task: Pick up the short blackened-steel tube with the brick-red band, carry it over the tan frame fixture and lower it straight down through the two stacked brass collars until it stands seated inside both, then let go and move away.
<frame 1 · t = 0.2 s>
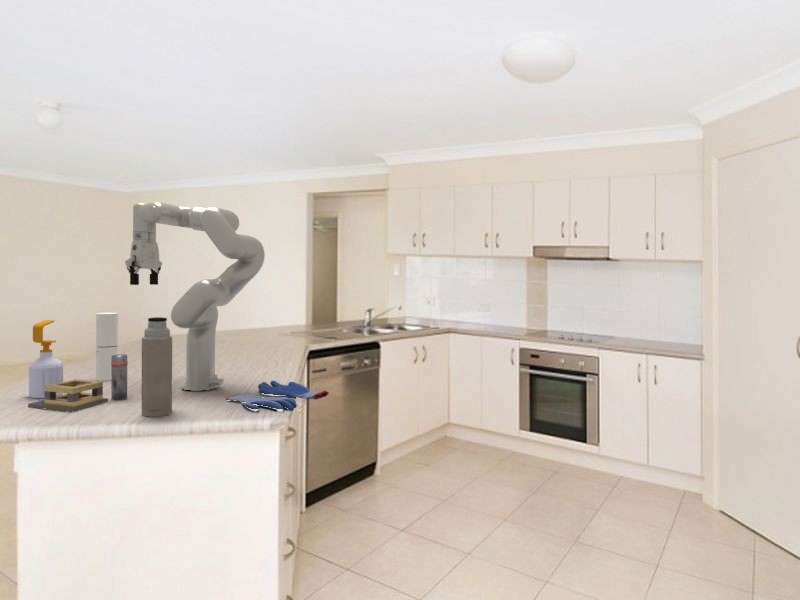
hand: (144, 284, 182), 36 cm above the worktop, tool pointing down, fingers open, 9 cm apart
tan frame fixture: (74, 404, 151), on the worktop
soap bottle: (46, 396, 162), on the worktop
tube: (119, 398, 161), on the worktop
pair of gloves: (276, 401, 165), on the worktop
cylindrical container: (107, 379, 189), on the worktop
thermos bottle: (156, 413, 145), on the worktop
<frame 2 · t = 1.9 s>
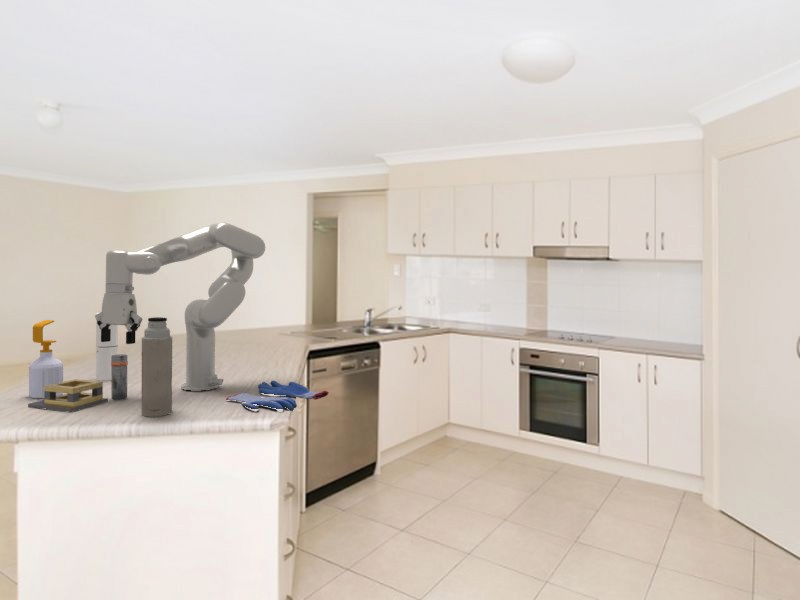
hand: (118, 342, 159), 18 cm above the worktop, tool pointing down, fingers open, 9 cm apart
nothing on the worktop moved.
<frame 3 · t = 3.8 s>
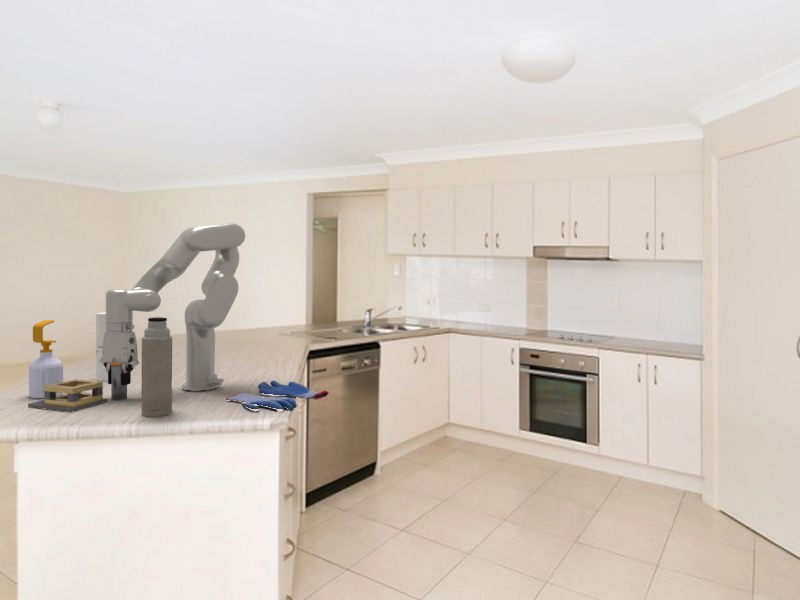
hand: (119, 383, 160), 5 cm above the worktop, tool pointing down, fingers closed on tube, 4 cm apart
tube: (119, 398, 161), on the worktop, touching gripper
everything else where it was.
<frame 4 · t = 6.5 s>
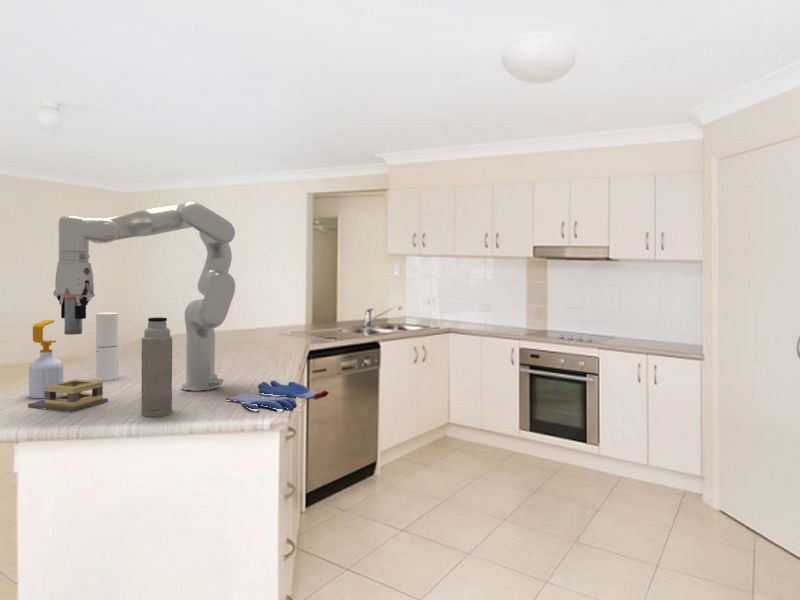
hand: (73, 317, 150), 27 cm above the worktop, tool pointing down, fingers closed on tube, 4 cm apart
tube: (73, 333, 150), point 22 cm above the worktop, touching gripper
everything else where it was.
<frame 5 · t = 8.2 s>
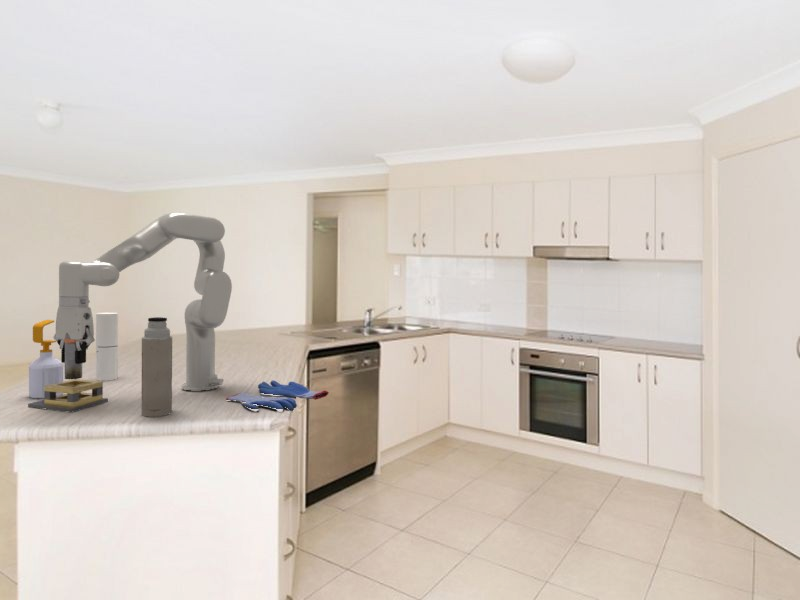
hand: (73, 361, 151), 13 cm above the worktop, tool pointing down, fingers closed on tube, 4 cm apart
tube: (73, 377, 151), point 8 cm above the worktop, touching gripper
everything else where it was.
when the fingers open (8 cm above the worktop, at t = 9.6 s): tube drops 2 cm, resting on tan frame fixture.
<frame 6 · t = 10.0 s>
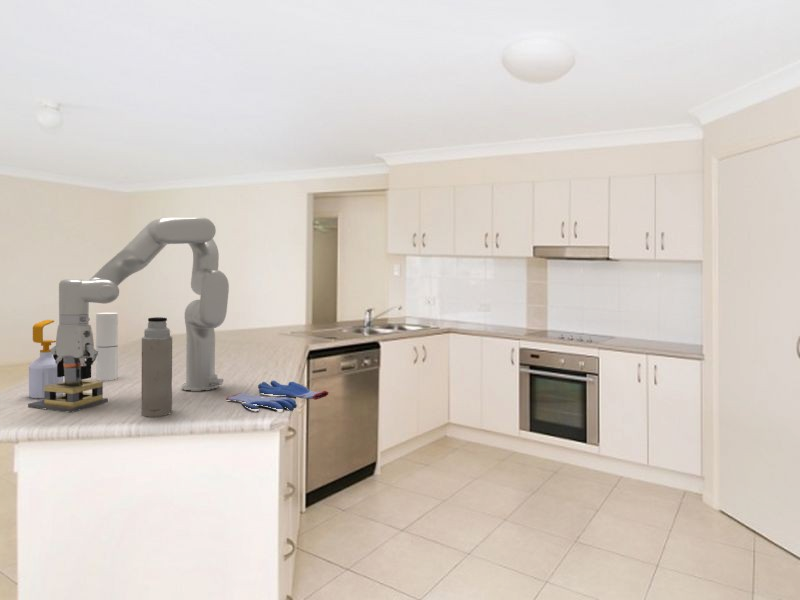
hand: (74, 377, 151), 9 cm above the worktop, tool pointing down, fingers open, 8 cm apart
tube: (74, 401, 151), point 1 cm above the worktop, touching tan frame fixture
everything else where it was.
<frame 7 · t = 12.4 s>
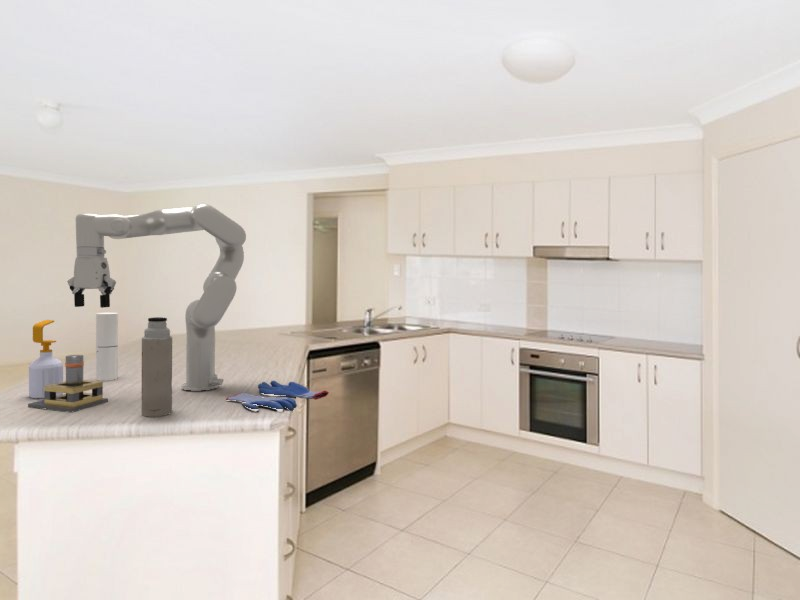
hand: (92, 306, 159), 29 cm above the worktop, tool pointing down, fingers open, 9 cm apart
nothing on the worktop moved.
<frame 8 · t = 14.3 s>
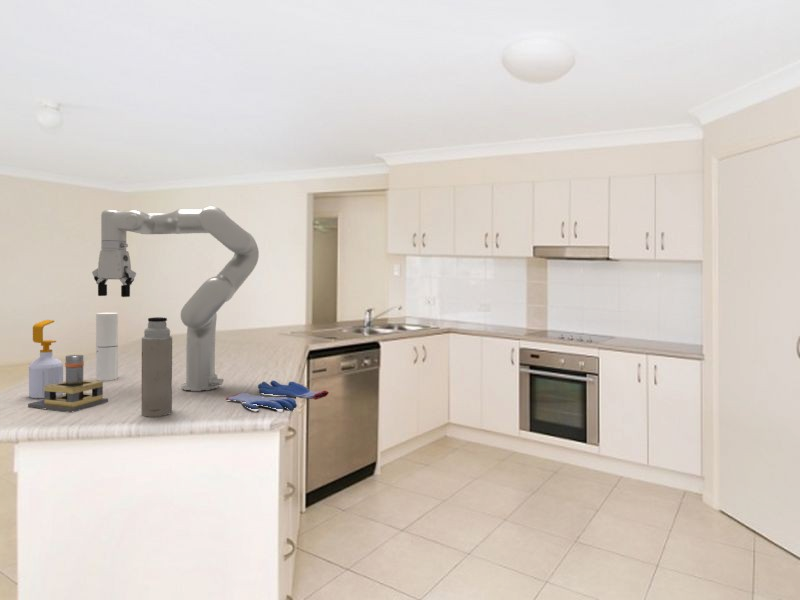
hand: (114, 296, 172), 32 cm above the worktop, tool pointing down, fingers open, 9 cm apart
nothing on the worktop moved.
at the end: tube 0.1 cm off-centre on the tan frame fixture, point 1.0 cm above the tan frame fixture's base; tube tilted 0°; the gripper is holding nothing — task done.
